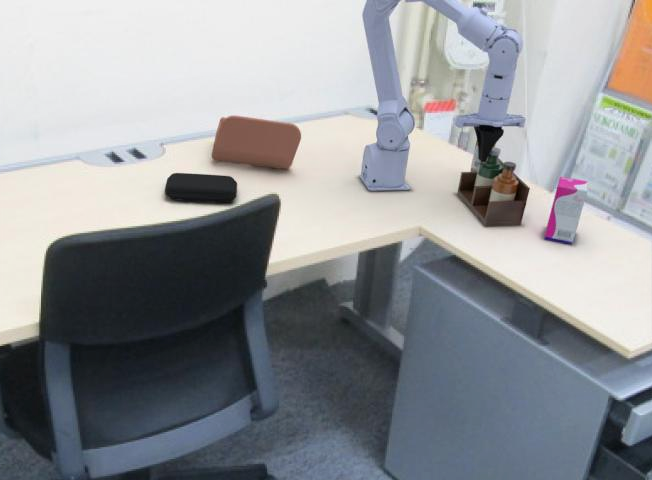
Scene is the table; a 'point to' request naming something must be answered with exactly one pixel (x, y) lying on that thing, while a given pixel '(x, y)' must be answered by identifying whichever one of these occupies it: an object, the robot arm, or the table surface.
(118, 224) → the table surface
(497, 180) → the amber bottle
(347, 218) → the table surface
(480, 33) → the robot arm
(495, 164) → the dark green bottle
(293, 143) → the brown block
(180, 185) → the carrying case
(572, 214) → the supplement box
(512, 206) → the rack
